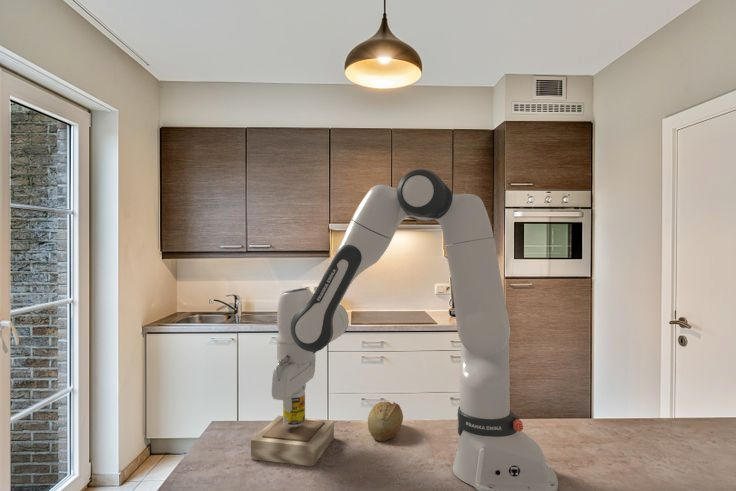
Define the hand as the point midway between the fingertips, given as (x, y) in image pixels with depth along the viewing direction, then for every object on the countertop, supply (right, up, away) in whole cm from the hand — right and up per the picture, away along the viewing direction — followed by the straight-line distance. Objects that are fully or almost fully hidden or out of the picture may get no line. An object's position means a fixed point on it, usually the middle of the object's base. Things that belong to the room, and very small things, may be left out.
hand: (294, 405), depth 115 cm
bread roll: (+24, -11, +10) cm, 28 cm away
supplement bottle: (0, -5, 0) cm, 5 cm away
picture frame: (0, -11, 0) cm, 11 cm away
